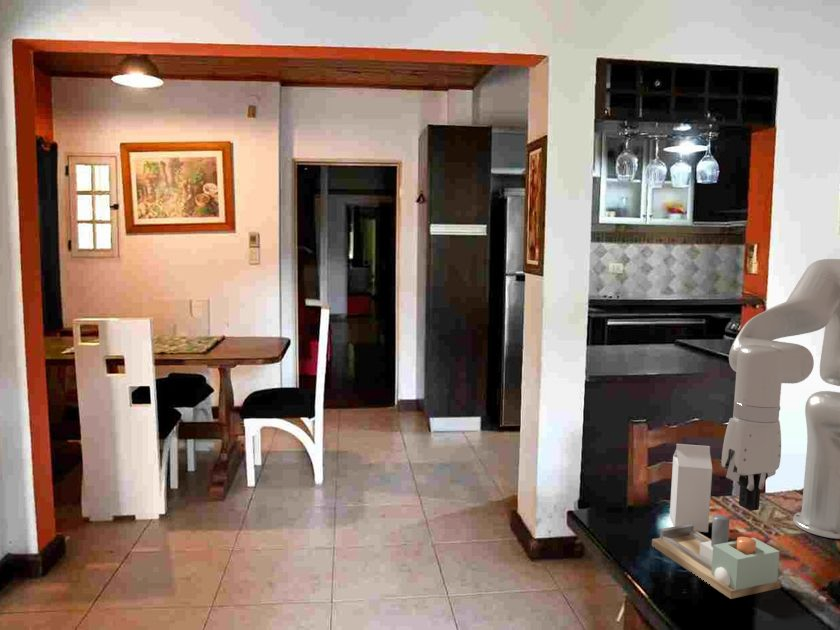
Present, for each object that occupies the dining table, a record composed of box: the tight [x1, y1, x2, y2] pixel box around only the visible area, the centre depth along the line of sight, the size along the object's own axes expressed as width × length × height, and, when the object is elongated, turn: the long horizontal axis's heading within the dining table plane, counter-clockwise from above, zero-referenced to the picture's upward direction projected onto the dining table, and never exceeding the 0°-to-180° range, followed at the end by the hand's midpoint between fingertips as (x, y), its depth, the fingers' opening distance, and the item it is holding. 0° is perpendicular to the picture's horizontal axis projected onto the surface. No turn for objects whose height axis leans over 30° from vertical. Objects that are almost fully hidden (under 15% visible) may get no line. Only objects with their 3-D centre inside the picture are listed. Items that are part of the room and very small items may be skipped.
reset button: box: [736, 536, 756, 555], centre depth 126 cm, size 3×3×3 cm
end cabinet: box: [711, 537, 780, 599], centre depth 126 cm, size 10×6×8 cm, turn 109°
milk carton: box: [669, 443, 713, 533], centre depth 152 cm, size 7×7×19 cm
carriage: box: [699, 514, 731, 564], centre depth 132 cm, size 5×5×9 cm
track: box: [651, 524, 782, 600], centre depth 134 cm, size 12×22×4 cm, turn 19°
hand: (748, 507), depth 125 cm, fingers closed
